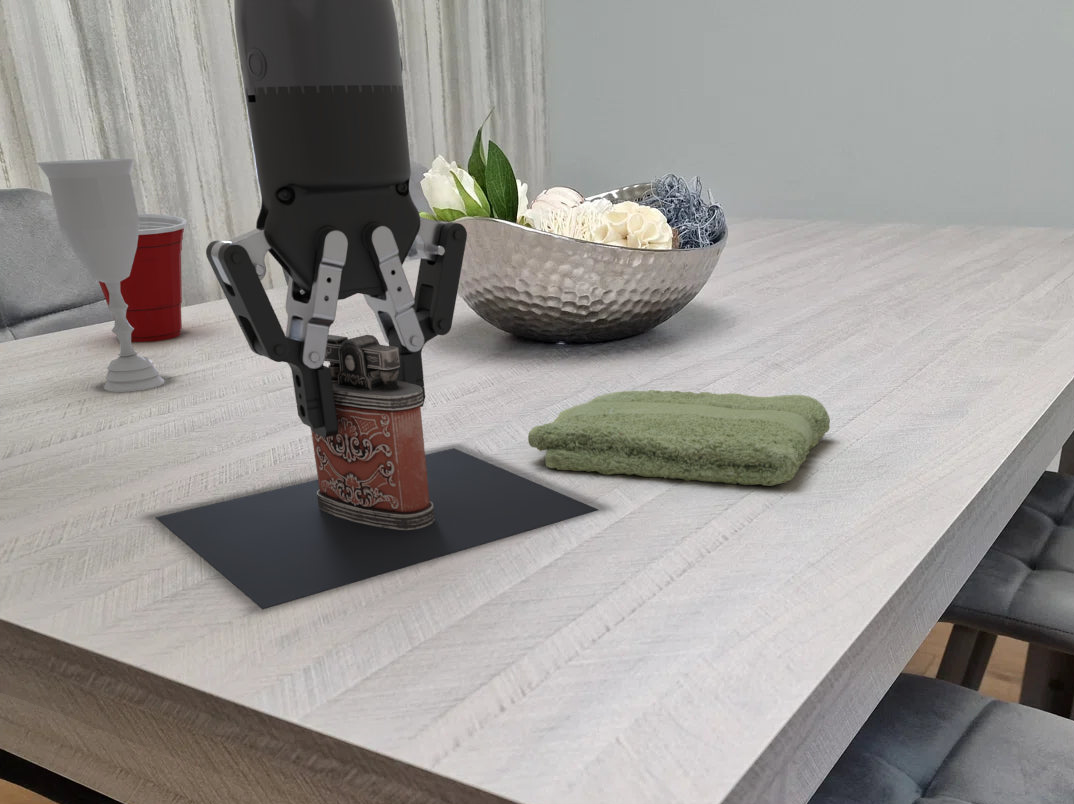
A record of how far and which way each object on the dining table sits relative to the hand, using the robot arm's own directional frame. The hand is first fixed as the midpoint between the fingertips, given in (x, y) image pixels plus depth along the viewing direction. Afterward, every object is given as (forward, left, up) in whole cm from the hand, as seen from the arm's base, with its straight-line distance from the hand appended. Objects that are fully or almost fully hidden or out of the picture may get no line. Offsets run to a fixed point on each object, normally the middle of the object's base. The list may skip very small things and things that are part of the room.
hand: (364, 423), depth 58 cm
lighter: (0, 0, -5) cm, 5 cm away
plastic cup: (+7, +64, -6) cm, 65 cm away
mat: (0, 0, -5) cm, 5 cm away
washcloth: (+21, -3, -6) cm, 22 cm away
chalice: (-1, +43, -6) cm, 43 cm away
